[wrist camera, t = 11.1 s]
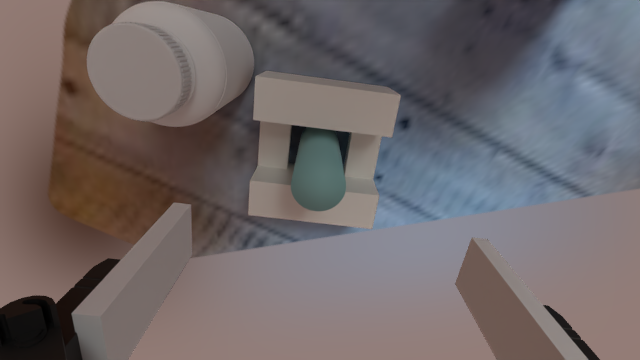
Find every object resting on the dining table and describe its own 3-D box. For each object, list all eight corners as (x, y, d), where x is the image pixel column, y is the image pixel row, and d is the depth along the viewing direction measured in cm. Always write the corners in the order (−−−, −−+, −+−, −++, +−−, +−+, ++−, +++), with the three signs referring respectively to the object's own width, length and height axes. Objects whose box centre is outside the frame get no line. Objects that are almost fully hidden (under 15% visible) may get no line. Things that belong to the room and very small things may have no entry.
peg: (302, 120, 34) (293, 157, 23) (340, 125, 34) (350, 164, 23) (298, 157, 36) (288, 208, 25) (335, 161, 36) (341, 214, 25)
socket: (266, 70, 32) (255, 76, 27) (387, 86, 33) (401, 95, 27) (259, 189, 37) (248, 215, 32) (364, 201, 38) (372, 229, 32)
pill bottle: (198, 113, 34) (113, 161, 20) (157, 33, 31) (25, 23, 17) (269, 85, 33) (231, 116, 19) (234, 0, 30) (159, -38, 16)
